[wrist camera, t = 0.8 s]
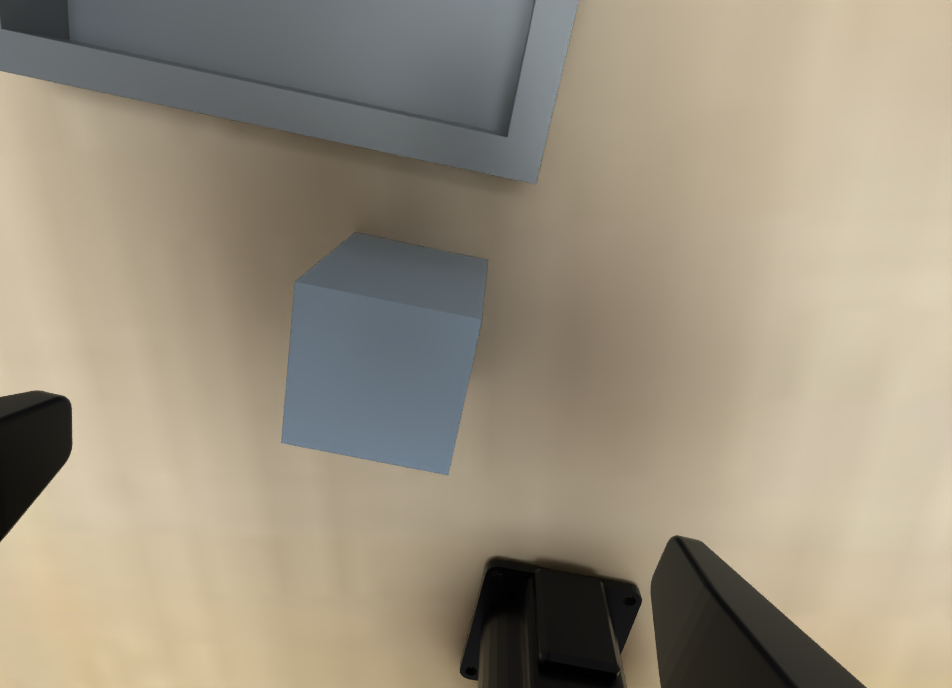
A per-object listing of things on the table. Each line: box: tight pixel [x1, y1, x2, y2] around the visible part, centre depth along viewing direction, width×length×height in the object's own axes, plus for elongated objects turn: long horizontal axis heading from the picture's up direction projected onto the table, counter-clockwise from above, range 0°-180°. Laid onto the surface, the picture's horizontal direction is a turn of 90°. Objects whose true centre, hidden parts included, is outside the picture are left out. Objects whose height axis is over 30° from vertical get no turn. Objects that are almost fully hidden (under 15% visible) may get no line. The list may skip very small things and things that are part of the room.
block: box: [281, 232, 488, 475], centre depth 17 cm, size 4×4×6 cm
